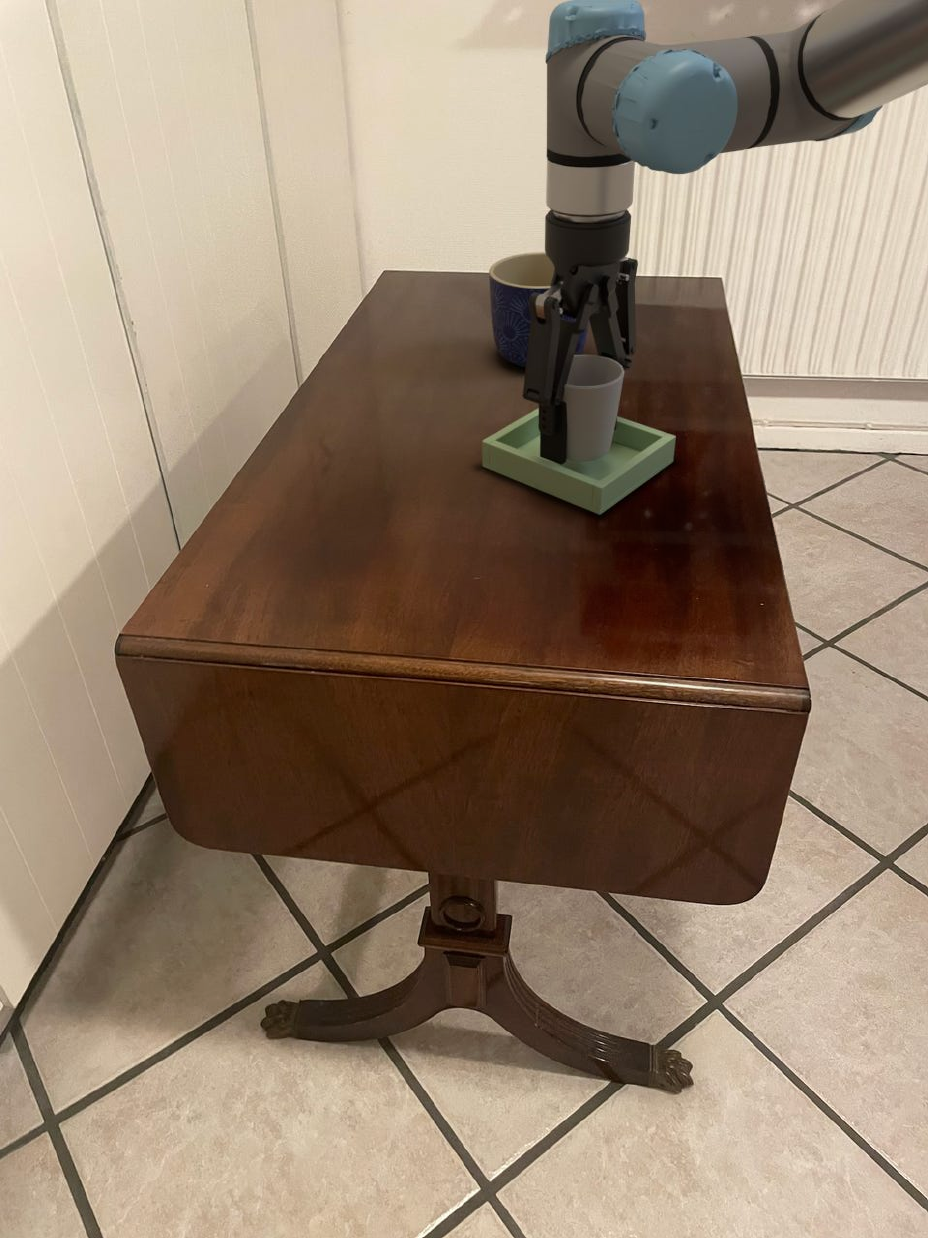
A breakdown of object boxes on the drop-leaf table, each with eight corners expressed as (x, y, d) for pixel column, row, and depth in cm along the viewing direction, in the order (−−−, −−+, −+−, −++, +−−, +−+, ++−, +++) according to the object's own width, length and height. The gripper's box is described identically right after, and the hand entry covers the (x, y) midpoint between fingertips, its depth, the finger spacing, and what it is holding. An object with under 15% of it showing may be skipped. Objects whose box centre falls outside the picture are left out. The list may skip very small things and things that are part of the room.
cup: (544, 468, 94) (544, 387, 89) (544, 421, 102) (545, 344, 96) (621, 467, 93) (627, 386, 88) (616, 420, 101) (620, 343, 96)
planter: (479, 371, 117) (476, 283, 111) (504, 332, 127) (503, 249, 120) (578, 380, 114) (581, 290, 107) (597, 340, 123) (601, 254, 117)
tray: (673, 461, 99) (676, 435, 97) (600, 515, 91) (601, 488, 89) (558, 420, 107) (558, 395, 105) (482, 466, 99) (481, 440, 97)
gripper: (620, 176, 91) (607, 396, 105) (477, 232, 79) (484, 471, 93) (689, 188, 87) (665, 415, 101) (549, 249, 75) (545, 496, 89)
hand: (578, 442), depth 97 cm, fingers closed on cup, 8 cm apart
